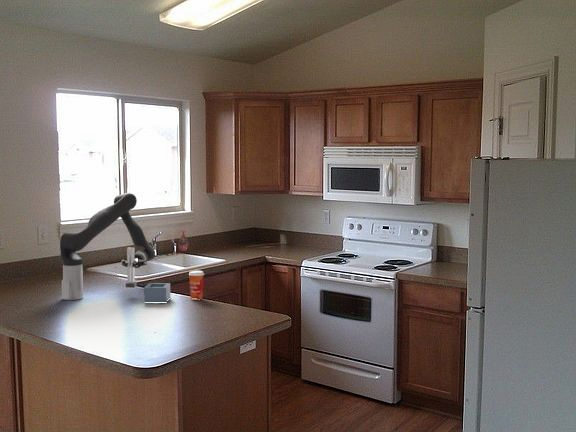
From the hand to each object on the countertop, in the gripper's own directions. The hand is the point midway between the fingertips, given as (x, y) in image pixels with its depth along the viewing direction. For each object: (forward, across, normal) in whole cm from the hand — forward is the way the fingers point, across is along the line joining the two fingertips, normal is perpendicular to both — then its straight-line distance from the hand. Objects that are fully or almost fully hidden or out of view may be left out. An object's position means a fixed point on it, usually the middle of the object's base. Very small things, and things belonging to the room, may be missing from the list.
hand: (129, 265), depth 317 cm
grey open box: (+8, +16, +16) cm, 24 cm away
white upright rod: (-3, 0, +12) cm, 12 cm away
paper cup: (+2, +34, +16) cm, 38 cm away
